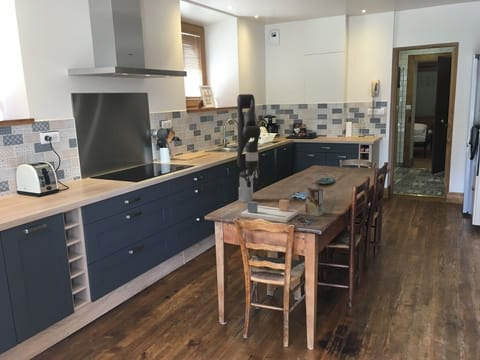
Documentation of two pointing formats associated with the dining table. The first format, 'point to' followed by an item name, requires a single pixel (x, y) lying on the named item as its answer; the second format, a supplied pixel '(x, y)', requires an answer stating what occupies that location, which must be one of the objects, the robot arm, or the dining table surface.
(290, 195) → the dining table surface
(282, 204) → the block
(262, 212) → the console
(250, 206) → the slate fader
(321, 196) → the coffee box
